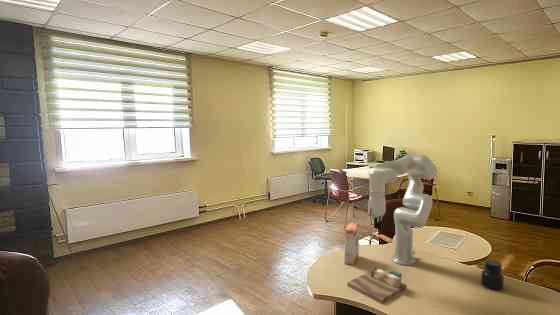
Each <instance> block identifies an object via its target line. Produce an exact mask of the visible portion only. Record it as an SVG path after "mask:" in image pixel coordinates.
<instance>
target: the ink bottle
mask: <svg viewBox="0 0 560 315" xmlns="http://www.w3.org/2000/svg"><path fill="white" fill-rule="evenodd" d="M502 267H503V264H502V263H501V262H500V261H498V260H494V259H486V260H484V269H483V270H482V271H481V283H480V284H481V285H482V286H483V287H484V288H486V289H489V290H492V291H493V290H494V291H502V290H504V283H505V282H504V281H505V277H504V274H503V273H502V270H503V268H502Z"/></svg>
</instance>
